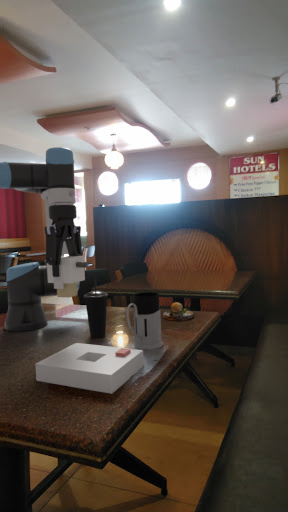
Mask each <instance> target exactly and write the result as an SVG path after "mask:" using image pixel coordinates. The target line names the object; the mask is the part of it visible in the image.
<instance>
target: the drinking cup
mask: <svg viewBox="0 0 288 512" xmlns="http://www.w3.org/2000/svg"><path fill="white" fill-rule="evenodd" d="M93 283H94V290H92V291H90V292H89V291H88V292H87V293H85V294H84V295H83V297H84V299H85V306H86V313H87V314H86V315H87V320H88V327H89V335H90V338H93V339H99V338H104V337H106V326H107V324H106V323H107V306H108V305H107V304H108V301H107V300H108V295H109V294H108V293H107V292H105V291H102V290H97V289H98V288H97V287H98V286H97V275H96V274H93Z"/></svg>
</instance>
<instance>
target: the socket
mask: <svg viewBox="0 0 288 512" xmlns="http://www.w3.org/2000/svg"><path fill="white" fill-rule="evenodd" d="M144 364H145V360H144V349H138V348H127V347H126V348H125V347H117V346H110V345H99V344H89V343H83V342H75V343H73V344H71V345H69V346H67V347H65V348H63V349H62V350H61V349H60V351H58V352H55V353H53V354H52V355H49V356H47V357H46V358H44V359H42V360H40V361H38V362H36V363H35V365H34V366H35V377H36V381H37V382H42V383H48V384H55V385H60V386H64V387H65V386H67V387H71V388H76V389H83V390H88V391H93V392H100V393H106V394H111V395H112V394H114V393H115V392H116V391H117V390H119V388H121V386H123V385H124V384H125V383H127V381H128V380H130V379H131V378H132V377H133V376H134V375H135V374H136V373H137V372H139V371H140V370H141V369H142V368H143V367H144ZM142 366H143V367H142ZM141 367H142V368H141ZM140 368H141V369H140ZM139 369H140V370H139ZM138 370H139V371H138ZM132 375H133V376H132ZM131 376H132V377H131ZM130 377H131V378H130Z"/></svg>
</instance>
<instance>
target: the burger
mask: <svg viewBox="0 0 288 512" xmlns="http://www.w3.org/2000/svg"><path fill="white" fill-rule="evenodd" d="M162 318H163V319H166V320H168V321H170V320H171V321H177V322H178V321H180V322H181V321H188V320H191V319H192V318H194V312H193V311H190V310H189V309H187V306H186V307H185V308H183V304H182V303H180V302H178V301H177V302H176V300H175V302H173V303H172V304H171V306H170V309H169V310H165V311H164V312H163V313H162Z"/></svg>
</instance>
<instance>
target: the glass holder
mask: <svg viewBox="0 0 288 512" xmlns="http://www.w3.org/2000/svg"><path fill="white" fill-rule="evenodd" d="M132 306H133V325H134V327H133V328H134V329H133V328H132V325H131V322H130V309H131V307H132ZM125 311H126V313H125V314H126V322H127V325H128V328H129V331H130V332H131V333H132V334H133V335H134V343H133V347H134V346H135V347H137V348H136V349H138V348H140V349H139V350H145V349H148V350H156V349H159V348H162V347H163V346H162V345H164V341H163V340H162V321H161V320H162V319H161V318H162V317H161V305H160V294H159V293H158V292H154V291H153V292H151V291H149V292H147V291H145V292H143V291H142V292H138V293H134V294H133V303H130V304H128V305H127V307H126V310H125ZM135 347H134V348H135ZM155 348H156V349H155Z"/></svg>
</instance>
